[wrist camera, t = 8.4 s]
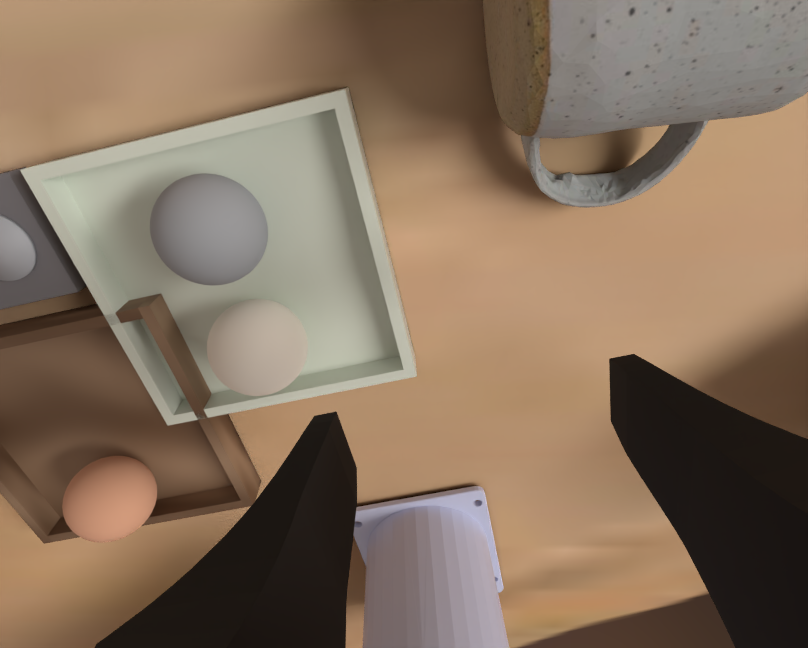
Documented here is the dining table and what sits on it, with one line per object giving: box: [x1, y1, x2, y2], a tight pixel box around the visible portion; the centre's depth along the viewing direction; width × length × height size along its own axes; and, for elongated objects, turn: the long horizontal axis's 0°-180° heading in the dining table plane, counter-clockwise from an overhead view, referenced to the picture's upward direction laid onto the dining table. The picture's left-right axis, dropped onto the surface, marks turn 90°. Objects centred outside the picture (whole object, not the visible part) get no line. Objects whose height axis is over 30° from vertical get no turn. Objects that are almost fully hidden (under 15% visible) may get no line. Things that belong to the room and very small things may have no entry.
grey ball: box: [150, 173, 268, 286], centre depth 18 cm, size 4×4×4 cm
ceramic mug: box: [483, 0, 808, 207], centre depth 14 cm, size 11×8×8 cm
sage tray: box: [20, 87, 417, 426], centre depth 21 cm, size 12×12×2 cm
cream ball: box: [207, 299, 308, 396], centre depth 20 cm, size 4×4×4 cm
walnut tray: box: [0, 293, 261, 543], centre depth 24 cm, size 12×12×2 cm
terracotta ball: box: [62, 456, 157, 542], centre depth 24 cm, size 4×4×4 cm
